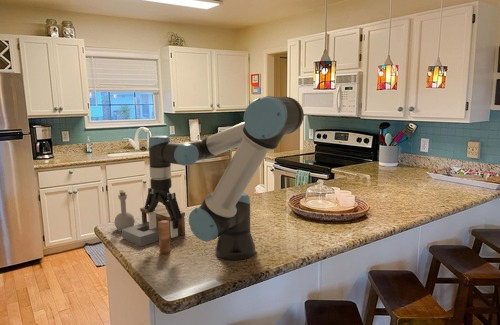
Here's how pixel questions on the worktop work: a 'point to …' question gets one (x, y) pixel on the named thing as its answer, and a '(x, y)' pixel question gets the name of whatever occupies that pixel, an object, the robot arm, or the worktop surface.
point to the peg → (164, 237)
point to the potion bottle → (123, 214)
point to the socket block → (141, 234)
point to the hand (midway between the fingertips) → (163, 232)
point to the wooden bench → (165, 218)
